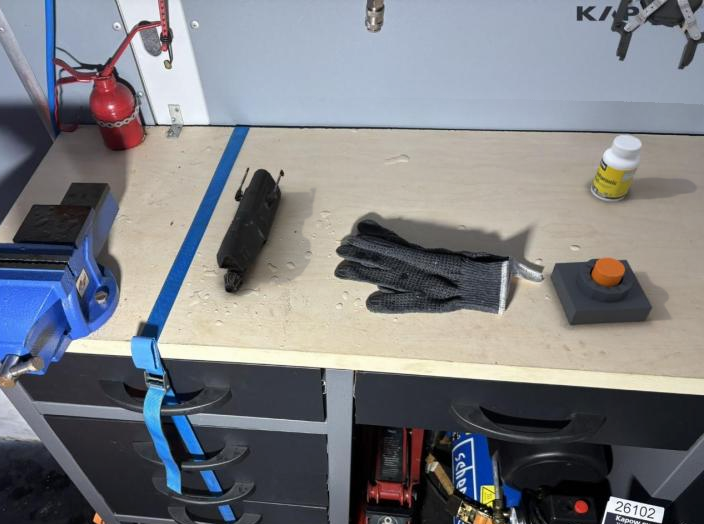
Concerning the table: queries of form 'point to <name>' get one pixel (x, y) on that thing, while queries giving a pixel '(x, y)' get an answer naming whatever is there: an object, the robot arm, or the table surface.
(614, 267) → the orange button cap
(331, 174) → the table surface
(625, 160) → the supplement bottle
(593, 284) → the button housing
